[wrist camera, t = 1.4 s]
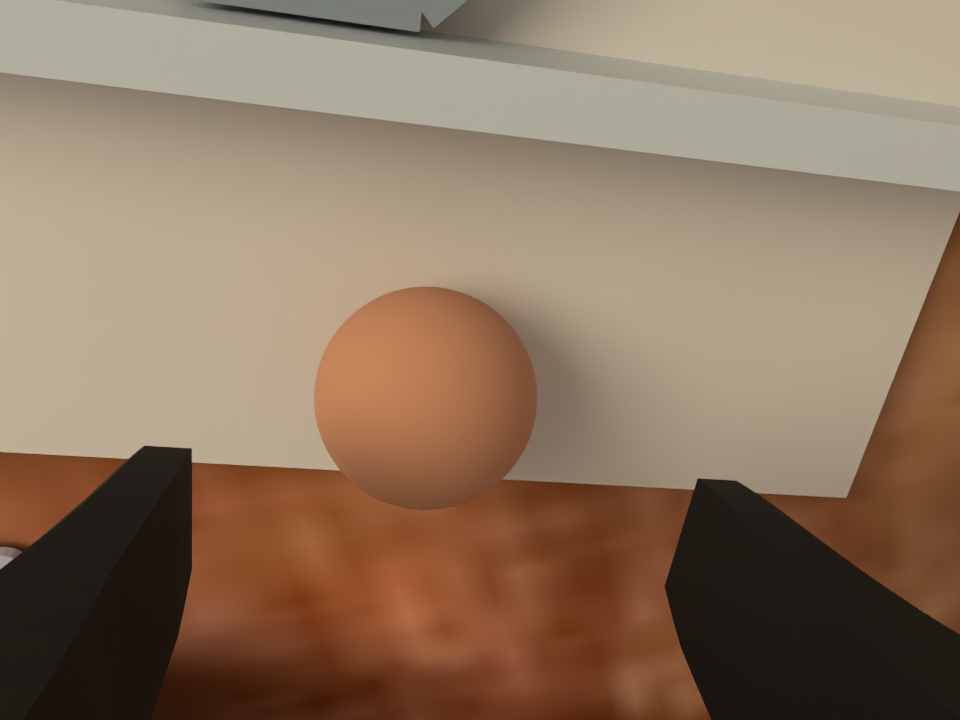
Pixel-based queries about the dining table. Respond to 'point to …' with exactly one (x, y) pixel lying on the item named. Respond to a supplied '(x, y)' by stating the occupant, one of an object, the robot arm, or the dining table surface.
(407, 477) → the rust ball
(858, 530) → the dining table surface
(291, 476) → the dining table surface
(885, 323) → the board
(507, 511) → the dining table surface
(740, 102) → the fence
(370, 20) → the dish
